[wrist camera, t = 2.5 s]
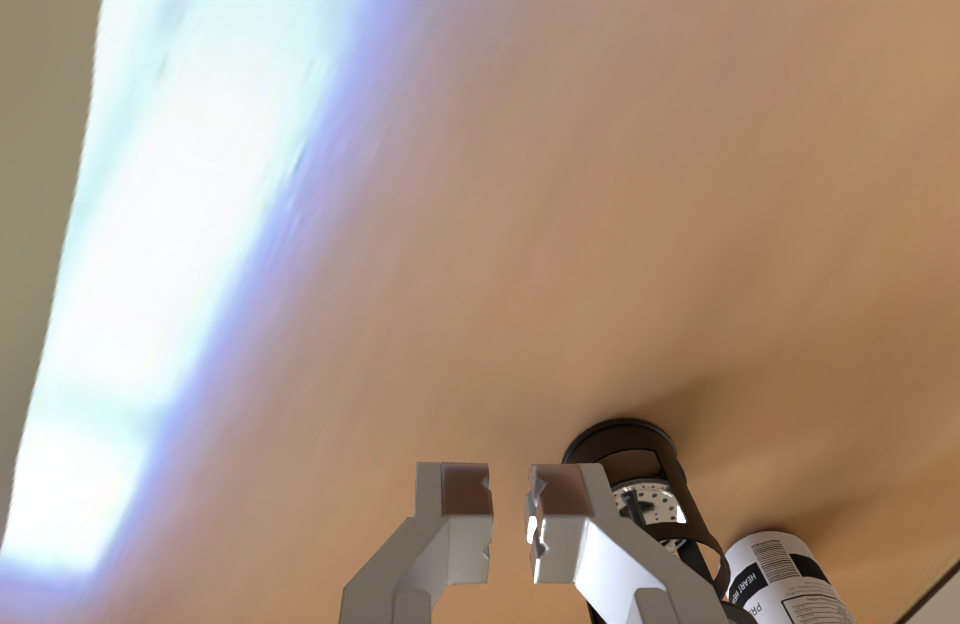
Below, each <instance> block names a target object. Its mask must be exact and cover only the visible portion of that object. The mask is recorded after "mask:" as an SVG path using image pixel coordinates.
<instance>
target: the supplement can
mask: <svg viewBox="0 0 960 624" xmlns="http://www.w3.org/2000/svg"><path fill="white" fill-rule="evenodd" d="M725 557H726V559H727V561H728V563H729V566H730V570H731V580H730V584H729V587H728V590H727V592H726V596H727V598H728V600H729V602H730V603H733V604H736V605H738V606H740V607H742V608H744V609H745V610H747V611H748V612H749V613H750V614H751V615H752V616H753V617H754V618H755V619H756V621H757V623H758V624H856V622H855V620H854V619H853V617H852V616H851V614H850V612H849V611H848V609H847V608H846V606H845V605H844V603H843V601H842V600H841V598H840V597H839V595H838V594H837V592H836V590H835V589H834V587H833V586H832V584H831V583H830V581H829V579H828V578H827V576H826V575H825V573H824V571H823V570H822V568H821V567H820V565H819V564H818V562H817V560H816V559H815V557H814V556H813V554H812V553H811V551H810V549H809V548H808V546H807V545H806V543H805V542H803V541H802V540H801V539H800V538H798V537H797V536H795V535H791V534H788V533H784V532H778V531H762V532H758V533H754V534H751V535H748V536H746V537H744V538H743V539H741V540H739V541H737V542H736V543H735V544H734V545H733V546H732V547H731V548H730V549H729V550H728V551H727V552H726V554H725ZM719 568H720V565H719Z"/></svg>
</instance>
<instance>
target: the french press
mask: <svg viewBox="0 0 960 624" xmlns="http://www.w3.org/2000/svg"><path fill="white" fill-rule="evenodd" d="M627 450H648V451H654V452H655V454H656V457H657V459H658V461H659V463H660V466H661V468H660V471H659V473H658V475H657V476H638V477H631V478H628V479H624V480H621V481H618V482H616V483H614V484H612V485H610V488H611V491H612V493H613V496H614V499H615V502H616V505H617V508H618V511H619V514H620V517H627V518H629V519H630V520H631V521H632V522H634V523H635V524H636V525H637V526H639V527H640V528H641V529H642V530H644V531H645V532H646V533H647V534H649V535H650V536H651V537H652V538H654V539H655V540H656V541H657V542H659V543H660V544H661V545H662V546H664V547H665V548H666V549H667V550H669V551H670V552H671V553H672V552H673V551H675V550H677V551H678V554H679V556H680V559H681V561H682V562H684V563H685V564H686V565H687V566H689V567H690V568H691V569H692V570H694V571H695V572H696V573H697V574H699V575H700V576H701V577H702V578H703V579H705V580H706V581H707V582H708V583H710V584H711V585H712V586H713V588H714V590H715V592H716V594H717V597H718V599H719V601H720V603H721V606H722V608H723V610H724V612H725V615H726V617H727V619H728V621H729V624H758V623H757V621H756V619H755V618H754V617H753V616H752V615H751V614H750V613H749V612H748V611H747V610H745V609H744V608H742V607H740V606H738V605H736V604H733V603H730V602H727V601H723V600H722V599H723V597H724V595H725V594H726V592H727V590H728V587H729V584H730V580H731V570H730V566H729V563H728V561H727V559H726V557H725V555H724V552H723V550H722V548H721V547H720V545H719V543H718V541H717V540H716V539H715V538H714V537H713V536H712V535H711V534H710V533H709V531H708V529H707V527H706V525H705V523H704V521H703V519H702V517H701V515H700V512H699V510H698V508H697V506H696V504H695V502H694V500H693V498H692V496H691V494H690V492H689V490H688V487H687V480H686V477H685V473H684V471H683V469H682V467H681V465H680V463H679V460H678V458H677V452H676V449H675V446H674V444H673V442H672V440H671V439H670V437H669V436H668V435H667V434H666V433H665V432H664V431H663V430H662V429H661V428H659V427H657V426H656V425H654V424H652V423H649V422H647V421H644V420H638V419H624V418H622V419H615V420H609V421H606V422H603V423H600V424H597V425H595V426H593V427H591V428H589V429H588V430H586V431H585V432H583V433H582V434H581V435H579V436H578V437H577V438H576V439H575V440H574V441H573V442H572V443H571V445H570V446H569V448H568V449H567V451H566V452H565V455H564V457H563V460H562V464H577V463H596V462H597V461H599V460H601V459H603V458H605V457H607V456H609V455H611V454H614V453H618V452H621V451H627ZM696 542H699V543H702V544H705V545H707V546H709V547H710V548H712V549H714V550H715V551H716V552H717V553H718V554H719V555H720V557H721V560H720V568H719V572H718V575H717V576H716V578H715V580H714V581H713V579H712V576H711V574H710V572H709V570H708V567H707V565H706V563H705V561H704V559H703V556H702V554H701V552H700V550H699V548H698V545H697V543H696ZM586 602H587V606H588V610H589V614H590V618H591V622H592V624H607V623H606V622H605V621H604V619H603V618H602V617H601V616H600V615H599V614H598V612H597V611H596V610H595V609H594V608H593V607H592V605H591V604H590V603H589V602H588V601H587V599H586Z"/></svg>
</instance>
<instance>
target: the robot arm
mask: <svg viewBox="0 0 960 624" xmlns="http://www.w3.org/2000/svg"><path fill="white" fill-rule="evenodd" d="M528 481H529V487H530V492H529V493H528V494H526V500H525V531H526V538H527V541H528V542H529V543H530V544H531V551H530V562H531V568H532V573H533V579H534V583H557V584H575V587H576V588H577V589H578V590H579V591H580V592H581V594H582V595H583V596H584V597H585V598H586V599H587V601H588V602H589V603H590V604H591V605H592V607H593V608H594V609H595V610H596V611H597V612H598V614H599V615H600V616H601V617H602V618H603V619H604V621H605V622H606V623H607V624H729V621H728V619H727V617H726V615H725V612H724V610H723V608H722V606H721V603H720V601H719V599H718V597H717V594H716V592H715V590H714V588H713V586H712V585H711V584H710V583H708V582H707V581H706V580H705V579H703V578H702V577H701V576H700V575H699V574H697V573H696V572H695V571H694V570H692V569H691V568H690V567H689V566H687V565H686V564H685V563H684V562H682V561H681V560H680V559H679V558H677V557H676V556H675V555H674V554H672V553H671V552H670V551H669V550H667V549H666V548H665V547H664V546H662V545H661V544H660V543H659V542H657V541H656V540H655V539H654V538H652V537H651V536H650V535H649V534H647V533H646V532H645V531H644V530H642V529H641V528H640V527H639V526H637V525H636V524H635V523H634V522H632V521H631V520H630V519H629V518H627V517H620V514H619V511H618V508H617V505H616V502H615V499H614V496H613V493H612V491H611V488H610V485H609V482H608V479H607V476H606V473H605V470H604V467H603V466H602V465H601V464H600V463H577V464H531V466H530V469H529V476H528ZM488 486H489V469H488V464H486V463H453V462H441V464H440V462H417V464H416V480H415V515H414V517H408V518H407V519H406V520H405V521H404V522H403V523H402V524H401V525H400V527H399V528H398V529H397V530H396V531H395V532H394V533H393V534H392V535H391V536H390V538H389V539H388V540H387V541H386V542H385V543H384V544H383V545H382V546H381V547H380V549H379V550H378V551H377V552H376V553H375V554H374V555H373V556H372V557H371V558H370V560H369V561H368V562H367V563H366V564H365V565H364V566H363V567H362V568H361V570H360V571H359V572H358V573H357V574H356V575H355V576H354V577H353V578H352V579H351V581H350V582H349V583H348V584H347V585H346V586H345V587H344V588H343V595H342V602H341V609H340V616H339V623H338V624H431V610H432V609H433V607H434V605H435V604H436V602H437V601H438V599H439V598H440V596H441V594H442V593H443V591H444V590H445V588H446V585H457V584H484V583H487V579H488V570H489V561H490V557H489V546H488V545H489V544H490V543H491V542H492V530H493V519H494V514H493V504H492V495H491V491H490V490H489V489H488Z"/></svg>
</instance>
